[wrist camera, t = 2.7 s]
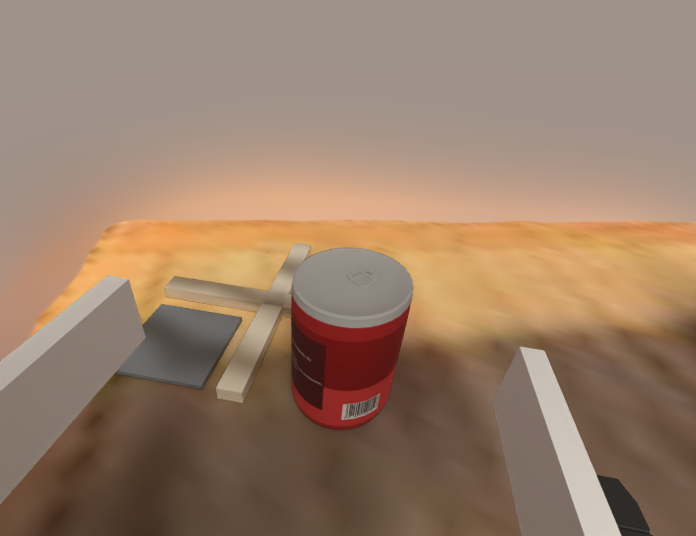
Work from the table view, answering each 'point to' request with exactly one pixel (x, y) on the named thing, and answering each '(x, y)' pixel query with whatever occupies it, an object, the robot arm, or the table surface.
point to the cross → (212, 332)
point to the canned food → (347, 334)
